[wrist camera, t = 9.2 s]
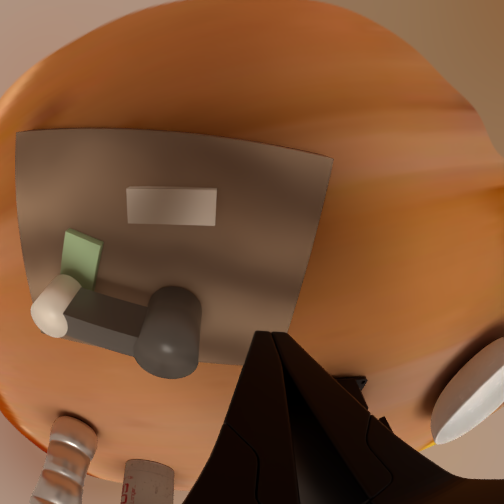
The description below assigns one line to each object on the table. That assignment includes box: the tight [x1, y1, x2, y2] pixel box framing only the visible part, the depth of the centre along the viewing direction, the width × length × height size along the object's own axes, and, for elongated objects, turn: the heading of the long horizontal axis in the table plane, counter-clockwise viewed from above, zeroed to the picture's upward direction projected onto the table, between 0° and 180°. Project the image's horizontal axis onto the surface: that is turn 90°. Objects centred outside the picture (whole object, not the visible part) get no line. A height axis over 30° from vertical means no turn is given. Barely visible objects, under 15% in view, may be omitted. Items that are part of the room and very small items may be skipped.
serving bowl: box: [431, 337, 504, 444], centre depth 29 cm, size 21×21×7 cm
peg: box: [31, 274, 202, 379], centre depth 16 cm, size 10×4×4 cm, turn 72°
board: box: [15, 128, 334, 365], centre depth 18 cm, size 16×20×3 cm
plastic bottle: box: [30, 416, 97, 504], centre depth 19 cm, size 6×7×20 cm
